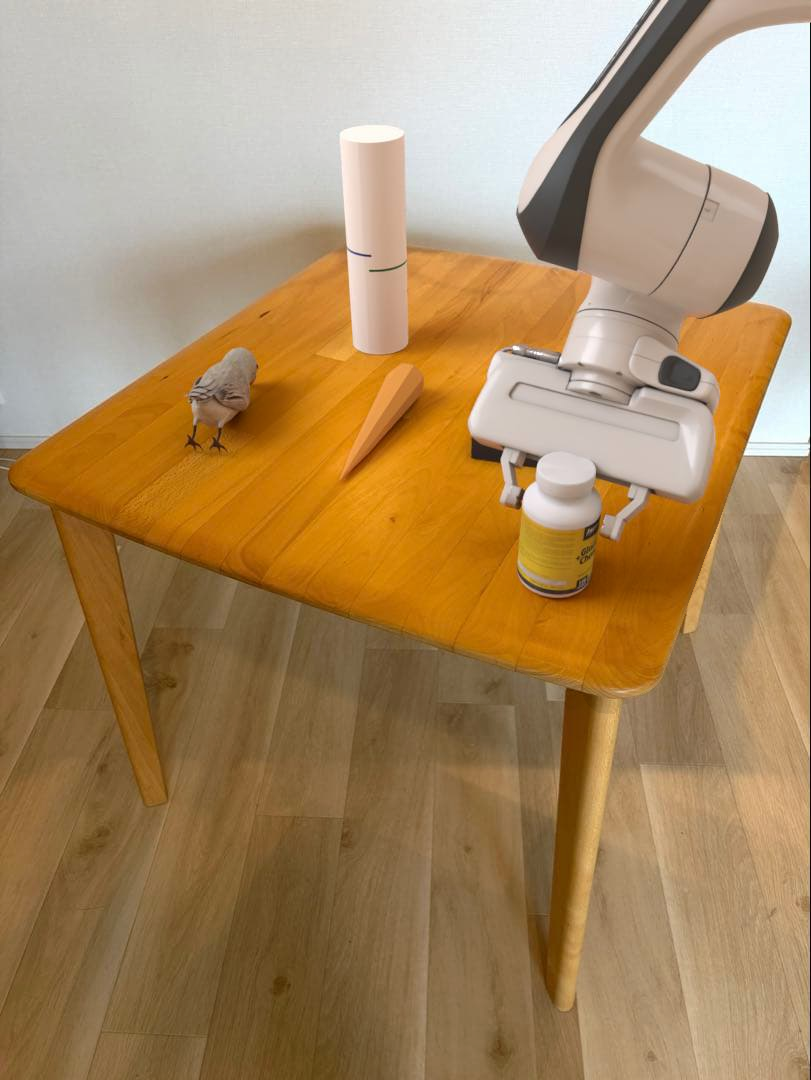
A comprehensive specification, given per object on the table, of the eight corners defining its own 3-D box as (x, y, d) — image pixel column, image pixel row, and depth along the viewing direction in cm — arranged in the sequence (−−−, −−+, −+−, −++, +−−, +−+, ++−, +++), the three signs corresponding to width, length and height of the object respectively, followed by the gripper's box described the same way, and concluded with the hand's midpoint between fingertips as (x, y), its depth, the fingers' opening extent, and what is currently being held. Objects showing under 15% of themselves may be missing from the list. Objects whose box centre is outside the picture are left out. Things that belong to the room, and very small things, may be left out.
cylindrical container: (367, 325, 113) (356, 122, 97) (416, 334, 111) (414, 127, 95) (343, 349, 108) (328, 139, 92) (395, 358, 106) (388, 145, 90)
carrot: (402, 393, 101) (387, 360, 99) (435, 387, 98) (419, 353, 96) (330, 502, 88) (310, 467, 86) (365, 498, 86) (345, 463, 83)
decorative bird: (273, 384, 102) (265, 326, 97) (227, 460, 90) (216, 398, 85) (230, 381, 103) (220, 323, 98) (179, 456, 90) (165, 394, 86)
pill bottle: (567, 612, 71) (583, 502, 64) (502, 581, 75) (509, 472, 67) (603, 570, 75) (622, 462, 68) (540, 542, 78) (551, 436, 71)
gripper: (489, 325, 72) (434, 479, 72) (737, 382, 64) (675, 555, 64) (508, 351, 78) (457, 493, 77) (737, 406, 70) (681, 565, 69)
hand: (557, 522), depth 70 cm, fingers open, 7 cm apart
